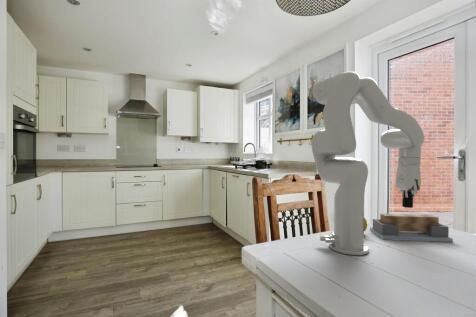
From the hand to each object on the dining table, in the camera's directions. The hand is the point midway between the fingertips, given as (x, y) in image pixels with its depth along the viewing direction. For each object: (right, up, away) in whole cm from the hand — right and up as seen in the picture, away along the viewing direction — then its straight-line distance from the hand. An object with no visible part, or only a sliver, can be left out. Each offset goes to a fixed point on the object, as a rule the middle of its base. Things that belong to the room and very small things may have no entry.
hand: (407, 207), depth 102 cm
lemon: (-18, -12, +3) cm, 22 cm away
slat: (+1, -9, +1) cm, 9 cm away
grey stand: (+1, -12, +1) cm, 12 cm away
